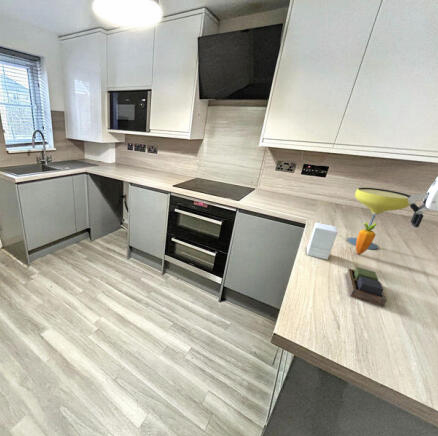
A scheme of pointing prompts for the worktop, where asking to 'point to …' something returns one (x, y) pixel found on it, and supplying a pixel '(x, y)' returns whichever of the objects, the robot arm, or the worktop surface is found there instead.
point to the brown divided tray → (360, 294)
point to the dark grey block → (369, 286)
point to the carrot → (365, 238)
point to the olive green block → (364, 274)
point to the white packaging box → (321, 240)
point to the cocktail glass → (380, 203)
